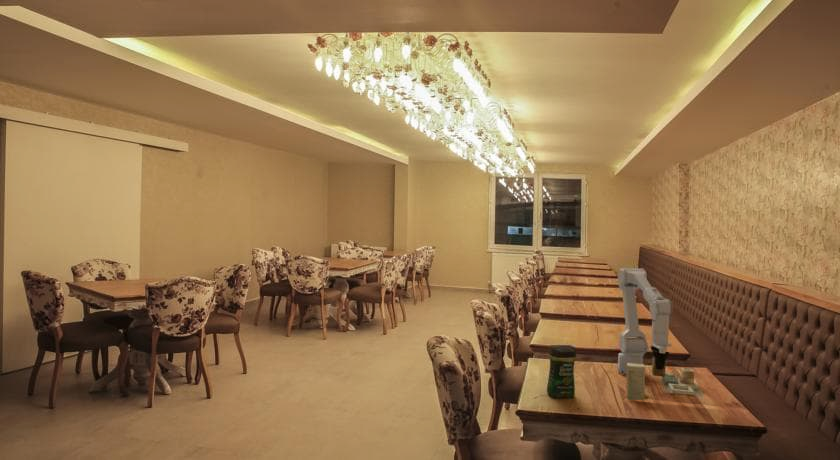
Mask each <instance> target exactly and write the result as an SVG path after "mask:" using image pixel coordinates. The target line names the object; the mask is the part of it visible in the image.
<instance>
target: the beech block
mask: <svg viewBox="0 0 840 460" xmlns="http://www.w3.org/2000/svg"><path fill="white" fill-rule="evenodd" d="M679 379H680V383H681V384H690V385H694V380H695V370H694V369H692V368H686V367H680V378H679Z"/></svg>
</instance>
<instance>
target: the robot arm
mask: <svg viewBox="0 0 840 460" xmlns="http://www.w3.org/2000/svg"><path fill="white" fill-rule="evenodd" d="M647 277H648V275H647V271H646V270H645V269H644V268H643V267H642V268H641V267H640V268H620V269H619V271H618V273H617V281H618V282H617V283H618V288H619V290H621V294H622V302H623V312H624V320H625V321H624V322H625V330H624V331H623V332H622V333H621V334H620V335H619V349H620V351H621V352H619V353H618V356H617V357H618V358H617V359H618V360H617V363H618V364H617V369H616V370H617V372H618V374H621V375H627V363H635V364H643V361H644V359H643V357H644V356H645V354H646V353H647V352H648V350H649V344H648V340H647V338H646V334H645V333H644V332H643V331H641V329H640V327H639V317H638V308H637V299H636V291H637V290H641V291H642V292H643V293H642V297H643V299H644V300H645V301H646V302H647V304H648V305H649V312H650V318H651V341H650V349H651V352H652V358H653V357H655V362H656V368H657V369H659V370H663V368H664V364H665V361H666V360H667V358H668V356H669V354H670V352H669V351H667V349H668V347H672V343H669V331H670V330H669V329H670V316H671V315H672V314H673V311H674V305H673V303H672V300H670V299H669V298H668V299H667V298H664V296H663V295H662V293H661V292H660V291H659V290H658V289H657V287H653V286H652V285H651V284H650V282H649V280H648V278H647Z"/></svg>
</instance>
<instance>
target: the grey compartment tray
mask: <svg viewBox="0 0 840 460" xmlns="http://www.w3.org/2000/svg"><path fill="white" fill-rule="evenodd" d="M663 386H664V388H665V390H666V392H667V394H677V395H686V396H696V397H704V394H703V393H702V392H701V390H700V386H699V384H698V382H697V381H696V380H695V379H694V385H690V384H681V383H680V378H678V384H670V383H668V385H664V384H663Z"/></svg>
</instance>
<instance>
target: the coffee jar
mask: <svg viewBox="0 0 840 460" xmlns="http://www.w3.org/2000/svg"><path fill="white" fill-rule="evenodd" d="M576 350H577V349H576V347H575V346H573V345H571V344H550V346H549V349H548V358H549V370H548V372H549V373H548V379H547V384H546V385H547V386H546V392H547V394H548V395H549V396H550V397H553V398H554V399H555V398H556V399H569V398H570V399H571V398H574V397H575V395H576V393H575V391H576V389H575V386H576V385H575V375H574V374H575V373H574V372H575V371H574V369H575V367H574V366H575V362H576V360H577V354H576V353H577V351H576Z"/></svg>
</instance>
